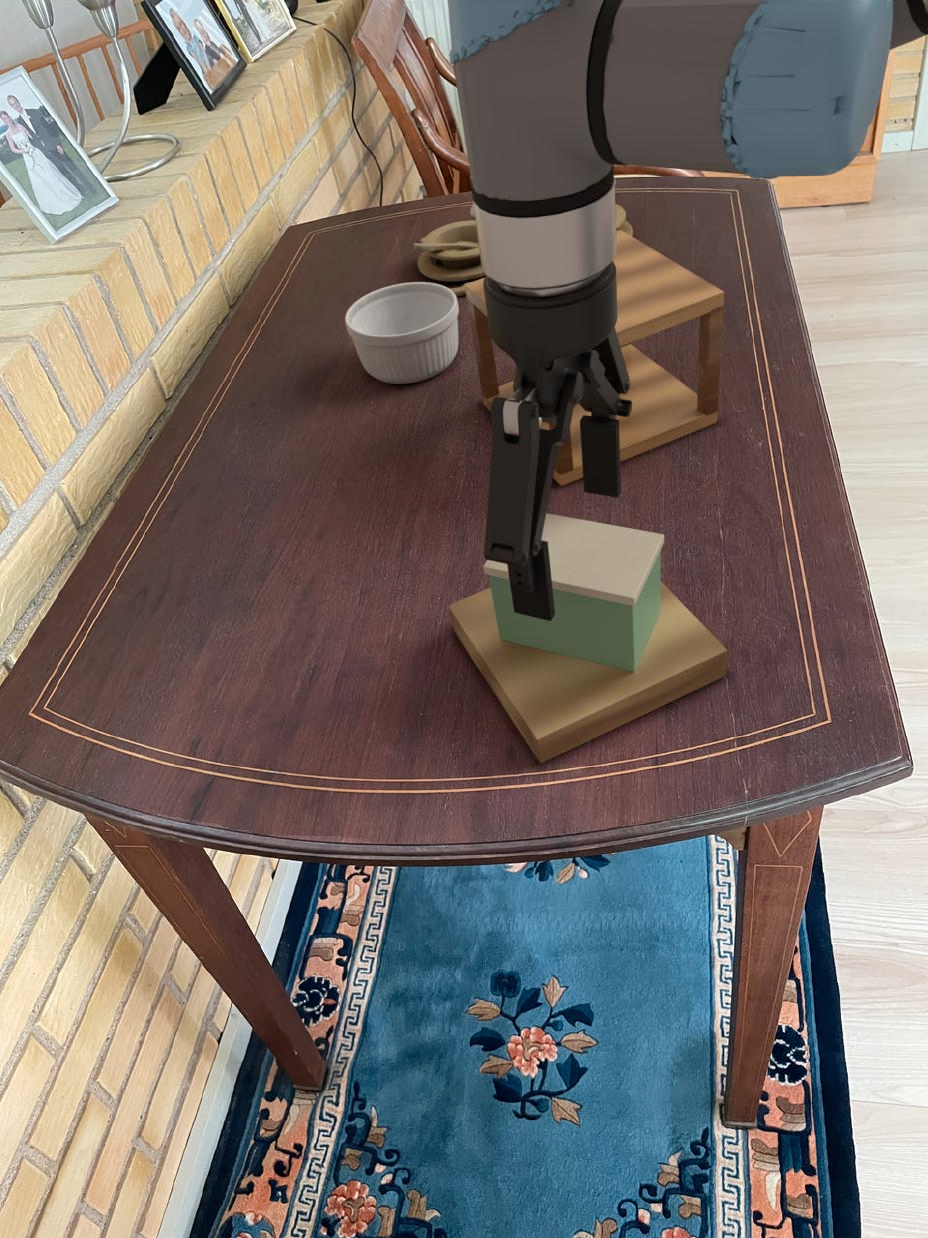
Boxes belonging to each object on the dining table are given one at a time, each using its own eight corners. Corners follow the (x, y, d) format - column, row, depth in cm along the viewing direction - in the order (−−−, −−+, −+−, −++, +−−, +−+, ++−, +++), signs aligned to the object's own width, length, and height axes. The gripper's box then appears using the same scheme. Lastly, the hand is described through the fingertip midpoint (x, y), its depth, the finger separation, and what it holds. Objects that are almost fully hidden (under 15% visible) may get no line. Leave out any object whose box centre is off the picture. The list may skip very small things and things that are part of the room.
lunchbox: (664, 611, 72) (664, 534, 66) (636, 675, 68) (634, 598, 62) (529, 582, 76) (519, 507, 71) (496, 641, 72) (482, 566, 67)
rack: (717, 422, 93) (724, 291, 83) (561, 486, 89) (549, 358, 80) (623, 350, 105) (620, 229, 95) (483, 404, 102) (464, 284, 92)
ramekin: (440, 322, 117) (431, 269, 112) (484, 365, 107) (475, 310, 103) (344, 357, 114) (330, 304, 109) (380, 404, 105) (366, 349, 100)
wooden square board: (725, 676, 70) (727, 650, 68) (540, 764, 67) (536, 739, 65) (616, 559, 81) (615, 533, 79) (453, 630, 78) (447, 605, 76)
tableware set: (421, 303, 121) (412, 259, 117) (417, 241, 135) (409, 200, 131) (646, 264, 119) (645, 218, 115) (618, 206, 133) (617, 163, 129)
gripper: (566, 174, 60) (582, 442, 75) (384, 376, 45) (449, 659, 60) (678, 177, 57) (672, 456, 72) (522, 395, 43) (555, 687, 58)
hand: (570, 549), depth 66 cm, fingers open, 13 cm apart
